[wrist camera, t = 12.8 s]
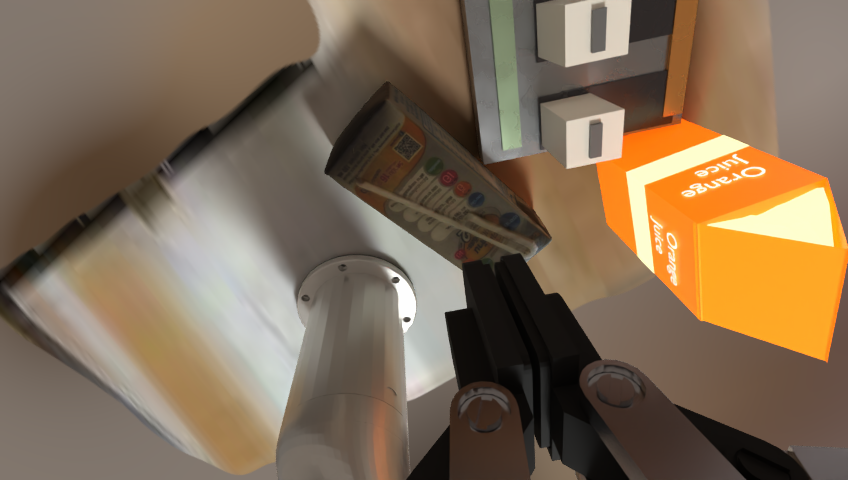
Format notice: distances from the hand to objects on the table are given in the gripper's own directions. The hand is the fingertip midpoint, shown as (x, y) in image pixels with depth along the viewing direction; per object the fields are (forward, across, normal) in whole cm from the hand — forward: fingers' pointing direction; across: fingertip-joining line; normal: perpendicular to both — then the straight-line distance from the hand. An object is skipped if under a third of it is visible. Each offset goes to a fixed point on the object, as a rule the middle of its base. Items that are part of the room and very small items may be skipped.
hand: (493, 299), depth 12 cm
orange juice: (+26, -20, +9) cm, 34 cm away
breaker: (+23, -11, +2) cm, 26 cm away
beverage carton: (+26, -1, +6) cm, 27 cm away
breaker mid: (+23, -11, -5) cm, 26 cm away
